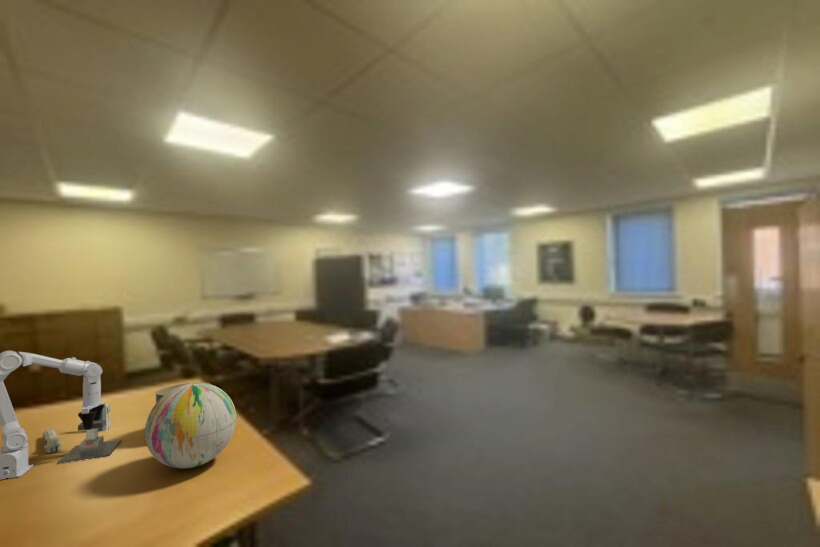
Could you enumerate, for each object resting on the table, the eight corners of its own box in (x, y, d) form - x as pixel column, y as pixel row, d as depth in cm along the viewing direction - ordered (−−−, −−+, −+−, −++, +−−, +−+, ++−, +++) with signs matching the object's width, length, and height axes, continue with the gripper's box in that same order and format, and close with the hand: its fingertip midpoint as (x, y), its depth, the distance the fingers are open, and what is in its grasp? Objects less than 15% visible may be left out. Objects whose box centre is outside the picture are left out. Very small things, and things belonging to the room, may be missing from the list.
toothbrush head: (56, 427, 180) (62, 433, 163) (56, 442, 180) (62, 449, 162) (40, 430, 177) (44, 436, 159) (40, 445, 176) (45, 454, 159)
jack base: (109, 456, 156) (109, 443, 157) (58, 464, 150) (58, 450, 151) (121, 441, 171) (121, 429, 171) (75, 447, 165) (75, 435, 165)
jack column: (102, 441, 161) (102, 422, 161) (77, 445, 158) (77, 425, 158) (105, 438, 164) (105, 419, 164) (81, 441, 161) (81, 422, 161)
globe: (253, 457, 153) (252, 379, 154) (174, 493, 127) (173, 399, 128) (207, 442, 168) (206, 371, 169) (128, 472, 143) (127, 388, 143)
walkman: (88, 432, 184) (88, 406, 184) (92, 429, 186) (92, 404, 187) (107, 430, 185) (107, 404, 185) (110, 428, 187) (110, 403, 188)
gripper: (97, 396, 156) (97, 430, 156) (109, 387, 170) (109, 419, 169) (75, 398, 154) (75, 433, 153) (89, 389, 167) (89, 421, 167)
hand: (91, 426), depth 161 cm, fingers open, 7 cm apart
